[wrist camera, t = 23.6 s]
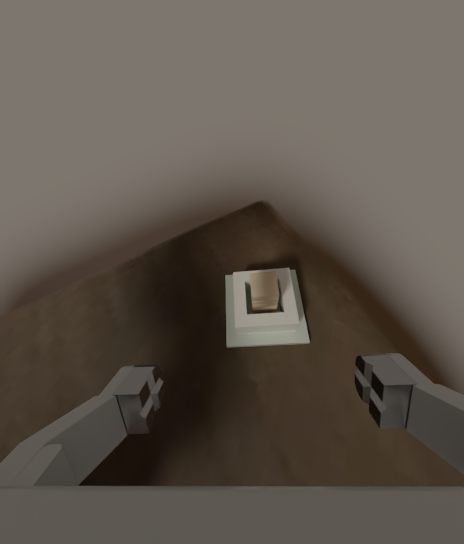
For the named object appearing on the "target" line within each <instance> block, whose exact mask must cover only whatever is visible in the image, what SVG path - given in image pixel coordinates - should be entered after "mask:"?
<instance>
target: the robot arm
mask: <svg viewBox="0 0 464 544" xmlns="http://www.w3.org/2000/svg"><path fill="white" fill-rule="evenodd" d="M355 365H356V366H357V368H358V369H359V370H358V371H357V372H356V373H355V385H356V389H357V392H358V394H359V396H360V398H361V399H362V401H364V402H365V403H367V404H368V405H369V412H370V414H371V415H372V417H373V419H374V420H375V422H376V423H377V425H378V427H379V428H380V429H406V430H407V431H408V432H409V433H411V434H412V435H413V436H414V437H416V438H417V439H418V440H420V441H421V442H422V443H423V444H425V445H426V446H427V447H429V448H430V449H431V450H432V451H434V452H435V453H436V454H438V455H439V456H440V457H441V458H443V459H444V460H445V461H447V462H448V463H449V464H450V465H452V466H453V467H454V468H456V469H457V470H458V471H460V472H461V473H462V474H463V475H464V395H462V394H460V393H457V392H455V391H453V390H451V389H449V388H446V387H444V386H442V385H440V384H433V383H432V382H431V381H430V380H429V379H428V378H427V377H426V376H425V375H424V374H422V373H421V372H420V371H419V370H418V369H417V368H416V367H415V366H414V365H413V364H411V363H410V362H409V361H408V360H407V359H406V358H405V357H404V356H403V355H401V354H399V353H392V354H384V355H365V356H357V358H356V363H355ZM160 375H161V370H160V366H158V365H137V366H124V367H122V368H121V369H120V370H119V371H118V373H117V374H116V375H115V376H114V378H113V379H112V380H111V381H110V383H109V384H108V385H107V386H106V388H105V389H104V390H103V391H102V393H101V394H100V395H99V396H95V397H93V398H91V399H90V400H88V401H87V402H85V403H83V404H82V405H80V406H79V407H77V408H75V409H74V410H72V411H71V412H69V413H67V414H66V415H64V416H63V417H61V418H59V419H58V420H56V421H55V422H53V423H51V424H50V425H48V426H47V427H45V428H43V429H42V430H40V431H39V432H37V433H35V434H34V435H32V436H31V437H29V438H27V439H26V440H24V441H23V442H21V443H20V444H19V445H18V446H17V447H16V448H15V449H14V450H13V451H12V452H11V453H10V454H9V455H8V456H7V457H6V458H5V459H4V460H3V461H2V462H1V463H0V544H464V487H427V486H78V485H79V484H80V483H81V482H82V481H83V480H84V479H85V478H86V477H87V476H88V475H89V474H90V473H91V472H92V471H93V470H94V469H95V468H96V467H97V466H98V465H99V464H100V463H101V462H102V461H103V460H104V459H105V458H106V457H107V456H108V455H109V454H110V453H111V452H112V451H113V450H114V449H115V448H116V447H117V446H118V445H119V443H120V442H121V441H122V440H123V439H124V438H125V437H126V436H127V434H140V433H149V432H150V430H151V427H152V425H153V423H154V420H155V418H156V414H155V411H156V410H157V409H158V408H160V407H161V404H162V402H163V398H164V393H165V391H164V382H163V381H162V380H161V379H160V378H159V377H160Z"/></svg>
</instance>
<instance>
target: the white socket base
mask: <svg viewBox="0 0 464 544" xmlns="http://www.w3.org/2000/svg"><path fill="white" fill-rule="evenodd" d="M272 271H276V276H277V283H278V289H279V300H278V305H277V310H276V313H262V314H253V308H252V297H251V284H250V273H259V272H272ZM225 281H226V342H227V348H233V347H252V346H271V345H290V344H309V343H310V340H309V335H308V330H307V325H306V320H305V315H304V311H303V306H302V301H301V296H300V291H299V286H298V281H297V276H296V271H295V270H290V269H289V268H280V269H268V270H256V271H243V272H233V275H225Z"/></svg>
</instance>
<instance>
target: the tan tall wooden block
mask: <svg viewBox="0 0 464 544" xmlns="http://www.w3.org/2000/svg"><path fill="white" fill-rule="evenodd" d="M250 284H251V297H252V308H253V314H262V313H276V310H277V305H278V300H279V289H278V283H277V276H276V271H272V272H259V273H250Z"/></svg>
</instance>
